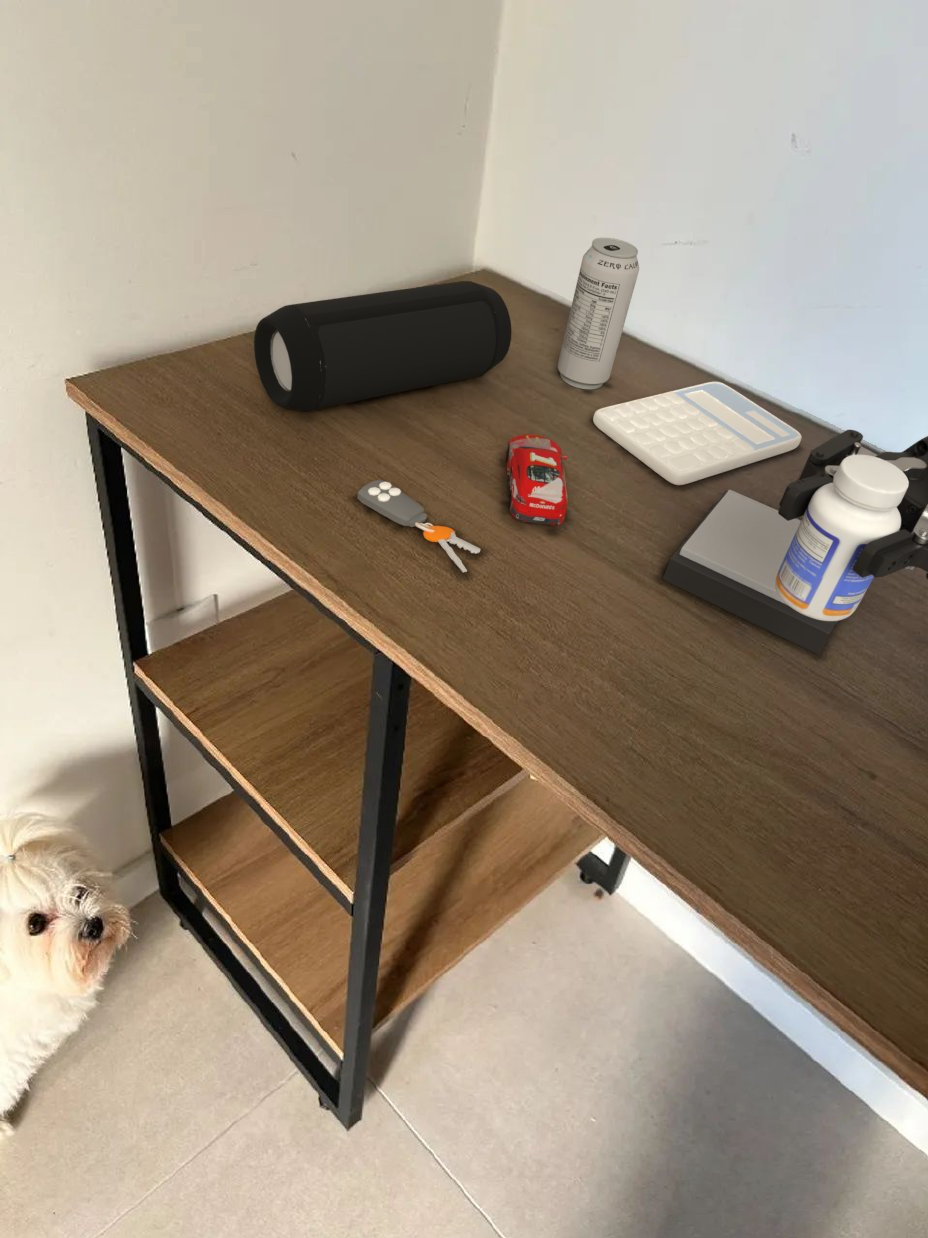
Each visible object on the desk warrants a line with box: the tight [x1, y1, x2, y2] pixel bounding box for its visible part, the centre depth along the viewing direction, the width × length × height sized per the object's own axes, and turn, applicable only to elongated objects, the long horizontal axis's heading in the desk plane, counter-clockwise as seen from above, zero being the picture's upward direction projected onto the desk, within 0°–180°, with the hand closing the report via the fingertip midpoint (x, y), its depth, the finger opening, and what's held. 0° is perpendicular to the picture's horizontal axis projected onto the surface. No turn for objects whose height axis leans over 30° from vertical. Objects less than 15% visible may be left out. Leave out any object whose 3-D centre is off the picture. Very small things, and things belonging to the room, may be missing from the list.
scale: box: [662, 489, 838, 656], centre depth 81 cm, size 14×14×3 cm
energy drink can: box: [557, 237, 640, 390], centre depth 101 cm, size 6×6×15 cm
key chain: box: [356, 479, 481, 573], centre depth 79 cm, size 13×4×2 cm, turn 50°
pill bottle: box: [775, 455, 909, 622], centre depth 58 cm, size 5×5×10 cm
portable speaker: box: [253, 280, 513, 412], centre depth 94 cm, size 26×10×10 cm, turn 126°
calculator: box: [592, 380, 803, 486], centre depth 99 cm, size 13×20×2 cm, turn 125°
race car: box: [505, 434, 569, 527], centre depth 86 cm, size 13×5×4 cm, turn 178°
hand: (824, 532), depth 56 cm, fingers closed on pill bottle, 5 cm apart
